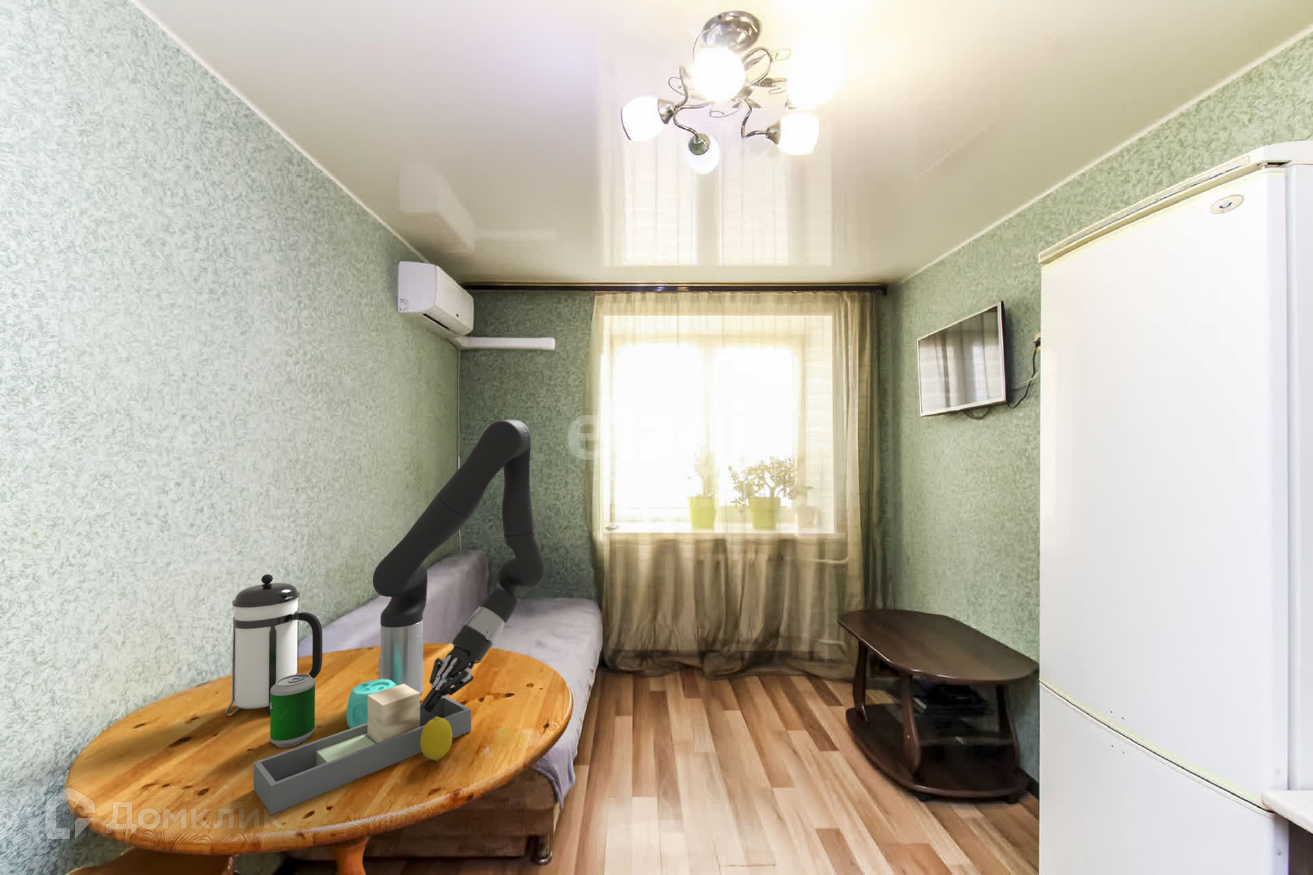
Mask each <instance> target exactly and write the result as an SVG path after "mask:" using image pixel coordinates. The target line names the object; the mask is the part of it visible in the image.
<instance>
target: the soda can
mask: <svg viewBox="0 0 1313 875" xmlns="http://www.w3.org/2000/svg"><path fill="white" fill-rule="evenodd" d="M308 674H309V673H298V674H296V675H290V676H287V677H284V678H281V679H279V680H278V681H277V682H276V684H275V685H273V686H272V688H271V700H270V715H269V716H270V720H269V721H270V722H269V724H270V726H269V741H270V742H271V743H272V744H273V745H275V746H276V747H277V746H278V747H277V748H290V747H294V746H298V745H300V744H302V743H305V742H306V741H308V739H310V737H311V736H312V734H313V733H314V732H315V730H316V713H315V712H316V679H315V678H312V677H310V675H308ZM301 742H302V743H301ZM299 743H300V744H299ZM297 744H298V745H297ZM293 745H294V746H293ZM289 746H290V747H289Z"/></svg>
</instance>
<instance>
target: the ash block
mask: <svg viewBox="0 0 1313 875" xmlns="http://www.w3.org/2000/svg"><path fill="white" fill-rule="evenodd" d="M420 704H421V695H420V693H419V692H417V691H416V690H414V689H412V688H410V687H409V686H407V685H405V684H402V685H398V686H395V687H392V688H389V689H386V690H383V691H379V692H376V693H373V694H370V695H368V729H367V735H368V736H370V737H371V738H372V739H374V740H375V741H376V742H377V743H379V742H382V741H384V740H387V739H390V738H392V737H395V736H397V735H400V734H403V733H405V732H408V731H411V730H413V729H416V728H418V727H420Z"/></svg>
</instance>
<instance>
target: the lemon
mask: <svg viewBox="0 0 1313 875" xmlns="http://www.w3.org/2000/svg"><path fill="white" fill-rule="evenodd" d="M452 743H453V739H452V729H451V726H450V724H449V722H448V721H447V720H446V719H444V718H439V717H438V716H436V717H435V718H434V719H432V720H430V721H429V722H428V723H427V724H426V725H425V726H424V728H423V731H422V734H421V739H420V745H421V750H422V752H421V753H422V754H423V755H424V757H425V758H427V759H429V760H433V761H434V762H438V761H439V760H440V759H441V758H443V757H444V756H446V754H447V753H448V752H449V751H450V749H451V746H452Z"/></svg>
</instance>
